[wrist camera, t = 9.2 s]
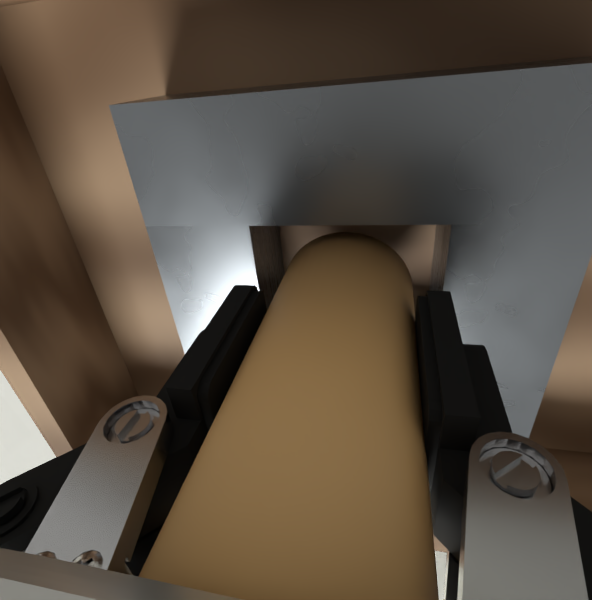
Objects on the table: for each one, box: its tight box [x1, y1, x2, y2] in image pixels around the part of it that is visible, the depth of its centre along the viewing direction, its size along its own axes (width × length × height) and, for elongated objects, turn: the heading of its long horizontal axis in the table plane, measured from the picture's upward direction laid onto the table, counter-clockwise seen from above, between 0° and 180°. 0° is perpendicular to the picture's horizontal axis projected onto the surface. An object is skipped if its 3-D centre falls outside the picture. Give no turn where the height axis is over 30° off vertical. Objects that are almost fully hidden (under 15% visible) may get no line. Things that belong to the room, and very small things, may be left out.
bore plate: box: [109, 56, 592, 438], centre depth 13 cm, size 12×12×3 cm
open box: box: [0, 0, 592, 552], centre depth 13 cm, size 20×26×6 cm
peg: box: [138, 232, 439, 600], centre depth 8 cm, size 4×4×10 cm
